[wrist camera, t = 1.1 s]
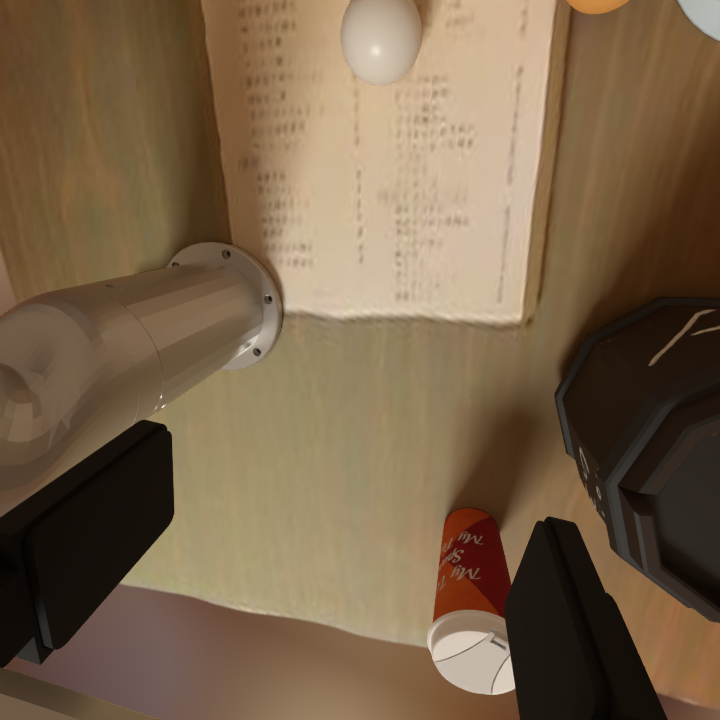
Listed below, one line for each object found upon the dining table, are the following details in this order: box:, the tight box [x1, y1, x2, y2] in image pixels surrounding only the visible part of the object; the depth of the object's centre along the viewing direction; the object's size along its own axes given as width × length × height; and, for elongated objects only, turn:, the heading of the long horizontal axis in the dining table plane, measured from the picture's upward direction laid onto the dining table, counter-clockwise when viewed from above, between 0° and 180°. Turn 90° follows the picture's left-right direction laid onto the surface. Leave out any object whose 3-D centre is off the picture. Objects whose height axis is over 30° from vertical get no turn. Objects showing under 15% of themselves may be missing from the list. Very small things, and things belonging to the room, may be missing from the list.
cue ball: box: [341, 0, 422, 86], centre depth 28 cm, size 6×6×6 cm
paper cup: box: [427, 508, 515, 695], centre depth 37 cm, size 8×8×14 cm
